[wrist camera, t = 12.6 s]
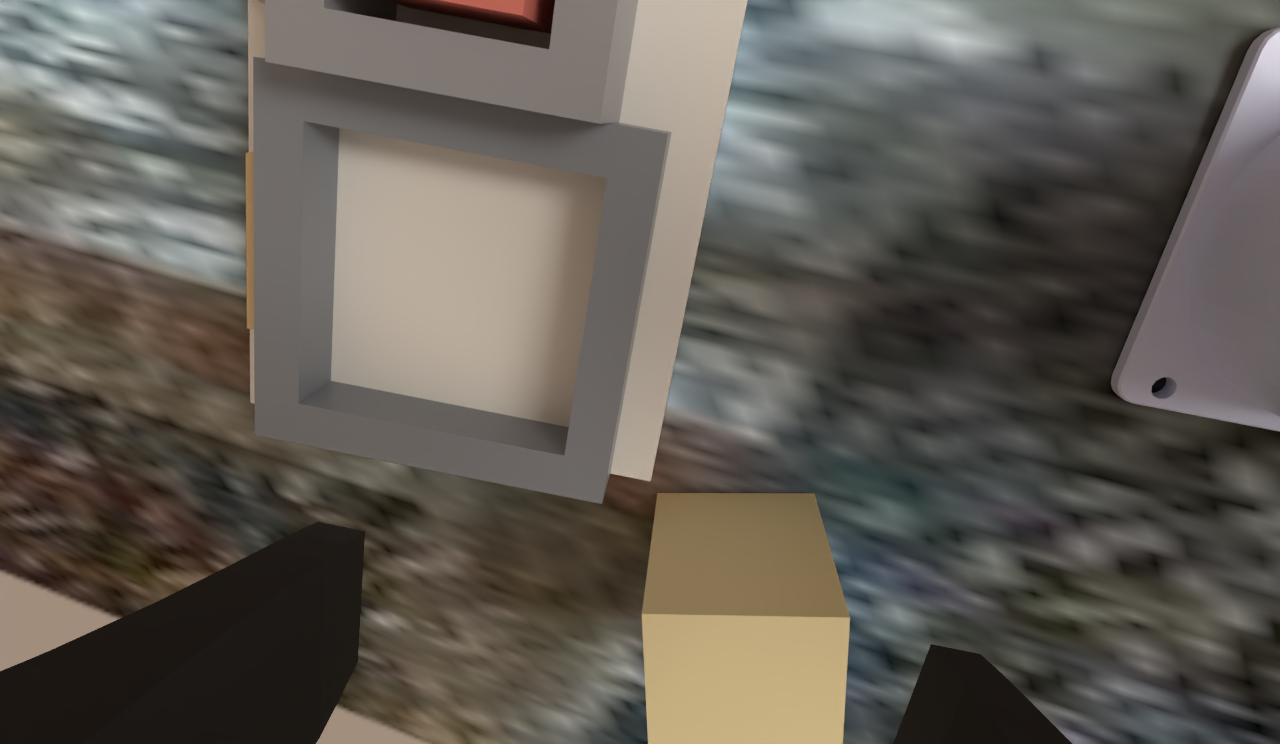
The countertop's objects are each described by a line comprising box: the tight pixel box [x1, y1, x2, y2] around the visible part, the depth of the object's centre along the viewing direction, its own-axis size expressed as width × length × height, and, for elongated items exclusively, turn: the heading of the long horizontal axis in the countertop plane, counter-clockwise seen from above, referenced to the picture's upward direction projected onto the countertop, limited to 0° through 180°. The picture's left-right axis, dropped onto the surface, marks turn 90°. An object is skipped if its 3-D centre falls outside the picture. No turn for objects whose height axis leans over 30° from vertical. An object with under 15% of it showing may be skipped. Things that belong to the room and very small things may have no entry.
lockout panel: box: [246, 0, 748, 504], centre depth 15 cm, size 10×14×4 cm
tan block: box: [642, 493, 850, 744], centre depth 17 cm, size 4×4×5 cm
